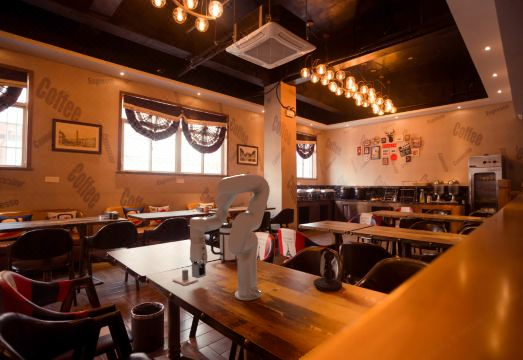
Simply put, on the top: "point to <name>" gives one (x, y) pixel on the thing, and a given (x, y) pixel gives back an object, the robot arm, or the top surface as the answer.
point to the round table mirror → (327, 272)
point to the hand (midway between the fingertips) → (198, 273)
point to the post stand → (185, 278)
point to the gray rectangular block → (197, 270)
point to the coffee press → (224, 242)
